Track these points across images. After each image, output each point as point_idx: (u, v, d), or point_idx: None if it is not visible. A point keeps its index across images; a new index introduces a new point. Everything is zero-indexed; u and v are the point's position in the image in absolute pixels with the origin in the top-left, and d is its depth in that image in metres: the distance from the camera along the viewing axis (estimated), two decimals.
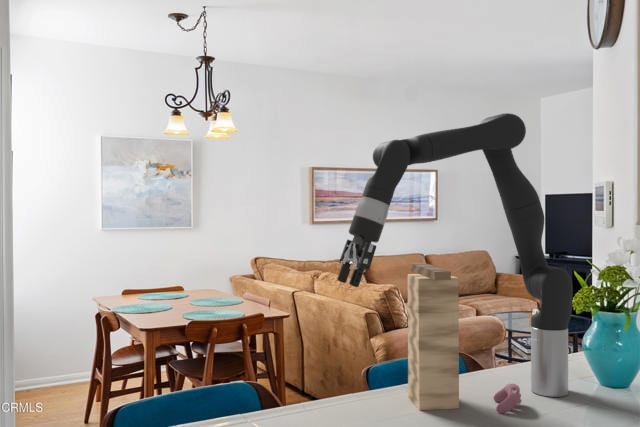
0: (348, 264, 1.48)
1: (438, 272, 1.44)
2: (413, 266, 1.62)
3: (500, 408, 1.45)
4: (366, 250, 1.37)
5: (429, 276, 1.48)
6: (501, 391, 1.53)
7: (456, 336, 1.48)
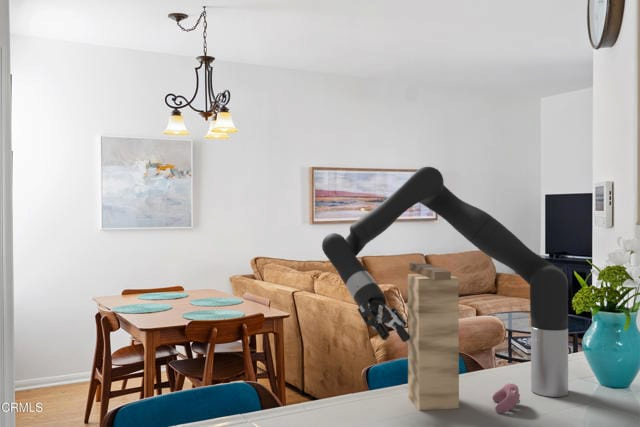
0: (398, 325, 1.58)
1: (438, 272, 1.44)
2: (413, 266, 1.62)
3: (499, 408, 1.45)
4: (361, 313, 1.53)
5: (429, 276, 1.48)
6: (500, 391, 1.53)
7: (456, 336, 1.48)
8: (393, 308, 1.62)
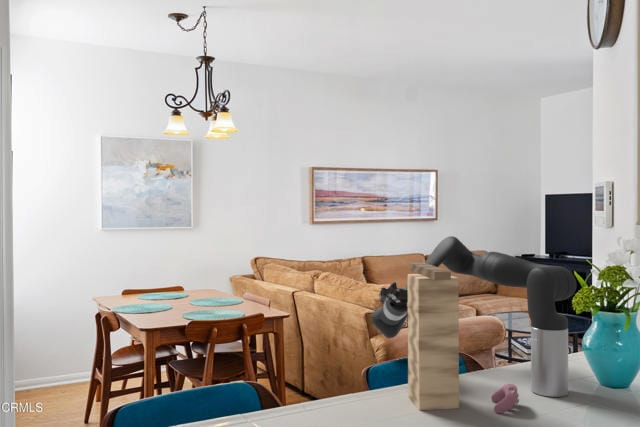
0: None
1: (438, 272, 1.44)
2: (413, 266, 1.62)
3: (498, 408, 1.45)
4: (380, 299, 1.79)
5: (429, 276, 1.48)
6: (499, 391, 1.53)
7: (456, 336, 1.48)
8: None
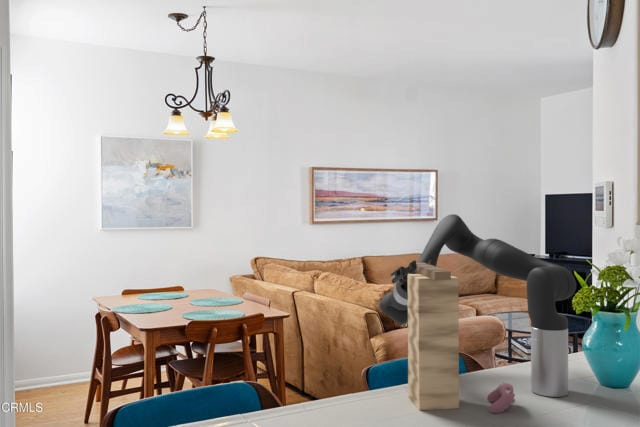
0: None
1: (438, 272, 1.44)
2: None
3: (494, 408, 1.45)
4: (394, 279, 1.66)
5: (429, 276, 1.48)
6: (495, 391, 1.53)
7: (456, 336, 1.48)
8: None
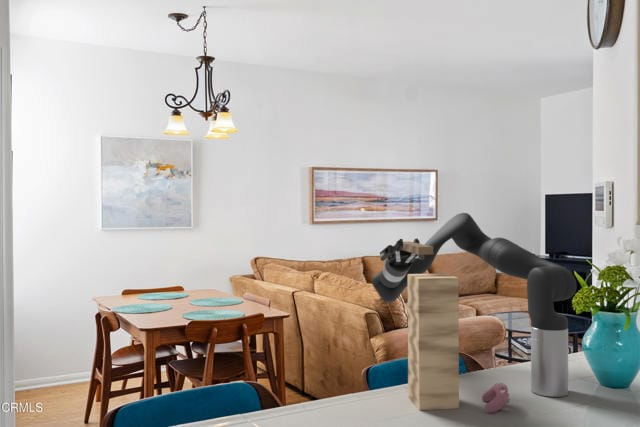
0: None
1: (421, 247, 1.58)
2: None
3: (489, 408, 1.45)
4: (383, 256, 1.79)
5: (414, 252, 1.61)
6: (489, 391, 1.53)
7: (456, 336, 1.48)
8: None
